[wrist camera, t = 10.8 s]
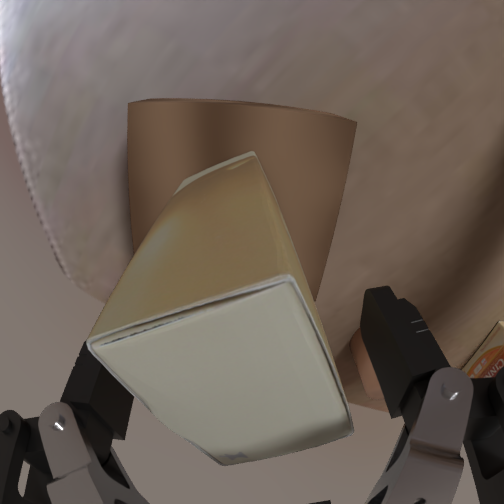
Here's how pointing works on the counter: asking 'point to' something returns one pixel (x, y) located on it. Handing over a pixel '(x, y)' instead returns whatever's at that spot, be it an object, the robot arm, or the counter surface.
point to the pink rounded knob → (365, 367)
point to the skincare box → (224, 324)
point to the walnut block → (235, 144)
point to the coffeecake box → (488, 355)
